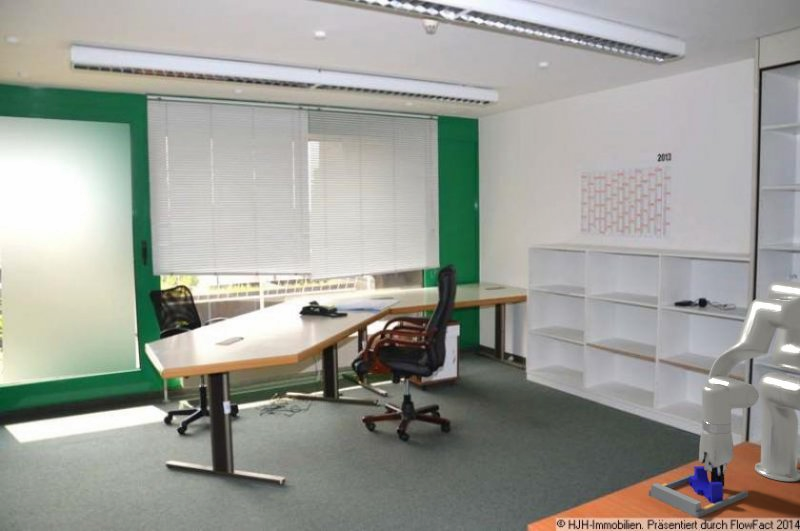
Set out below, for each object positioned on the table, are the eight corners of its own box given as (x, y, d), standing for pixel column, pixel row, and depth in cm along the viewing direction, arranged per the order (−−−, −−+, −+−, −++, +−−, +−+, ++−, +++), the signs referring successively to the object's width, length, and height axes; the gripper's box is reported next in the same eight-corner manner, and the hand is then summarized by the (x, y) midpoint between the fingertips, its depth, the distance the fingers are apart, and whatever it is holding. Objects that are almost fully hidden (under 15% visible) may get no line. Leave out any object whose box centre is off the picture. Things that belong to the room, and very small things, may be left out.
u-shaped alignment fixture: (698, 476, 186) (698, 465, 186) (748, 496, 172) (748, 484, 172) (648, 495, 175) (648, 483, 175) (698, 518, 161) (698, 505, 161)
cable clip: (689, 485, 181) (689, 466, 180) (704, 485, 180) (704, 466, 180) (706, 505, 169) (706, 484, 168) (722, 504, 168) (722, 484, 168)
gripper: (720, 416, 183) (721, 474, 185) (688, 428, 176) (690, 488, 177) (744, 423, 176) (745, 483, 178) (712, 436, 169) (714, 498, 171)
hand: (717, 485), depth 178 cm, fingers closed
